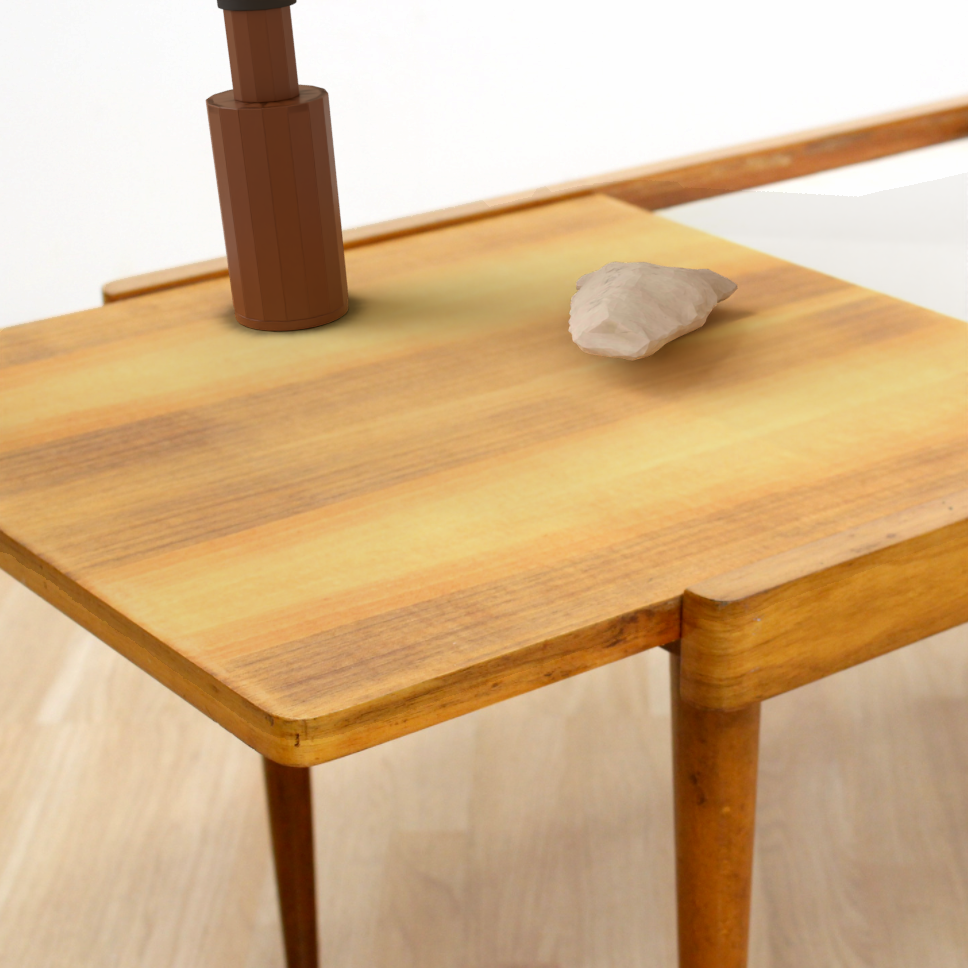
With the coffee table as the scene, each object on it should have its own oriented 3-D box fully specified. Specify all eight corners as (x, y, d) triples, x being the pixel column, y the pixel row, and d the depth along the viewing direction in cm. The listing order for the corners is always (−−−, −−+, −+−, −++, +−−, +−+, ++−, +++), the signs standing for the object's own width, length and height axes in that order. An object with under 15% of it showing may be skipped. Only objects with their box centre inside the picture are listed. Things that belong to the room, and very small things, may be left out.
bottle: (270, 339, 91) (230, 19, 83) (215, 311, 96) (172, 7, 87) (370, 312, 94) (341, 3, 86) (312, 287, 99) (279, -8, 91)
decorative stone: (742, 239, 91) (695, 323, 78) (739, 309, 93) (692, 402, 80) (581, 228, 93) (509, 308, 80) (581, 297, 95) (511, 386, 82)
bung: (245, 51, 85) (235, -36, 83) (208, 42, 88) (197, -41, 86) (315, 40, 87) (306, -44, 85) (276, 32, 91) (267, -50, 89)
